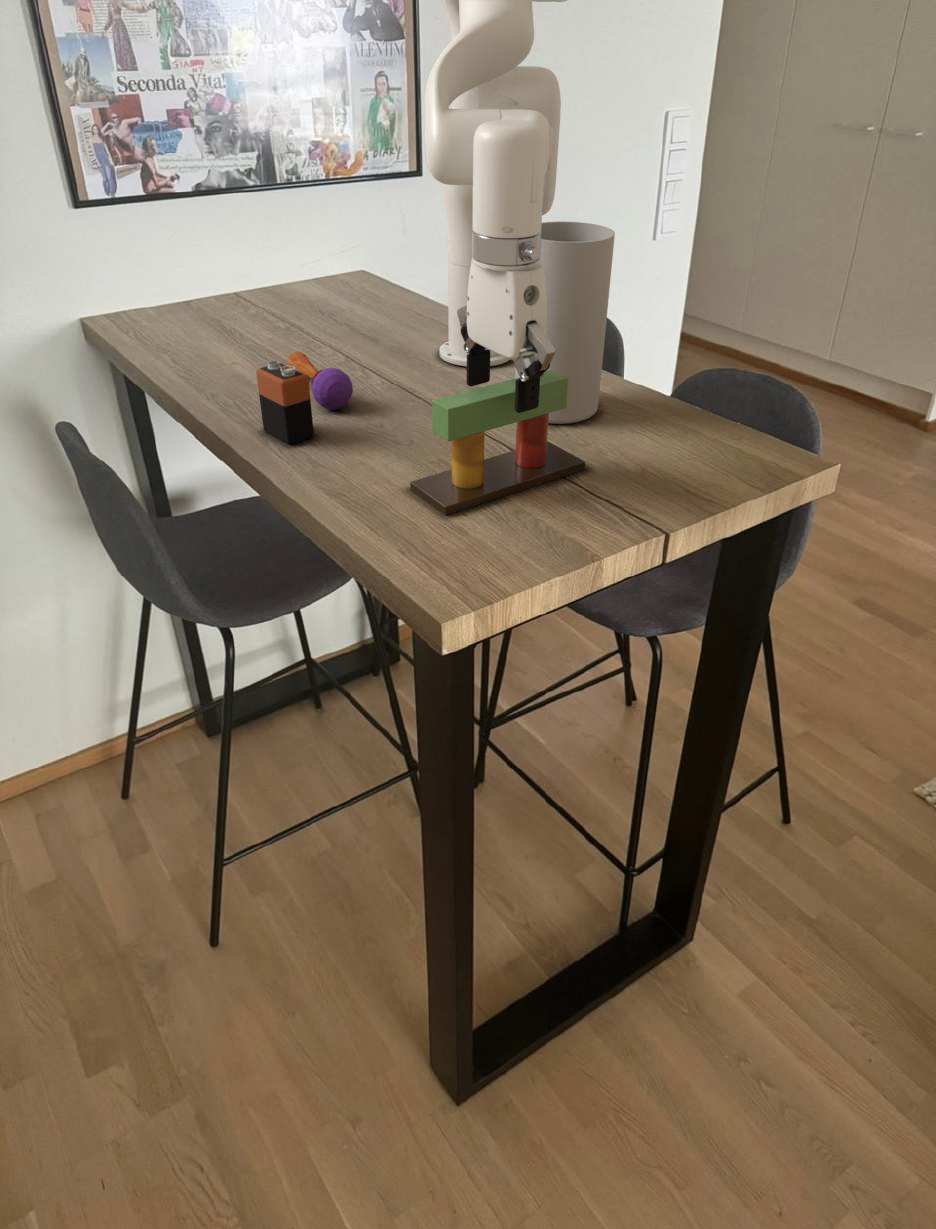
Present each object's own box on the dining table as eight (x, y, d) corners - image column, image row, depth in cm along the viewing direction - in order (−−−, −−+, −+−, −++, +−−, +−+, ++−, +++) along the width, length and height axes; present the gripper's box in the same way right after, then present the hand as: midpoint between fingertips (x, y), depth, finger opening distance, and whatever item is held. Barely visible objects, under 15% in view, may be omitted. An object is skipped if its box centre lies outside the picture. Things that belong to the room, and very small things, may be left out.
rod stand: (546, 448, 122) (549, 391, 118) (584, 469, 117) (590, 410, 112) (410, 490, 112) (408, 429, 107) (445, 515, 107) (445, 452, 102)
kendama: (316, 344, 145) (360, 374, 130) (314, 381, 148) (356, 414, 132) (280, 342, 142) (320, 372, 127) (279, 380, 145) (317, 414, 130)
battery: (289, 446, 122) (281, 375, 117) (262, 431, 126) (253, 362, 121) (315, 437, 125) (309, 367, 119) (288, 423, 129) (280, 355, 123)
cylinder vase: (502, 418, 131) (508, 237, 116) (527, 389, 140) (536, 218, 126) (586, 431, 127) (602, 246, 113) (605, 400, 137) (623, 226, 122)
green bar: (548, 399, 115) (550, 369, 113) (566, 408, 113) (568, 377, 111) (431, 431, 107) (431, 399, 104) (448, 441, 104) (448, 409, 102)
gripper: (583, 261, 95) (571, 413, 105) (487, 228, 106) (484, 368, 116) (528, 272, 91) (521, 428, 101) (434, 237, 102) (436, 380, 112)
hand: (501, 396), depth 109 cm, fingers open, 9 cm apart
